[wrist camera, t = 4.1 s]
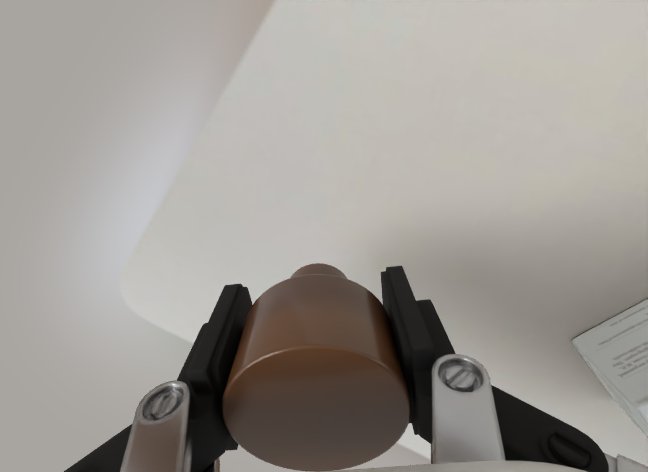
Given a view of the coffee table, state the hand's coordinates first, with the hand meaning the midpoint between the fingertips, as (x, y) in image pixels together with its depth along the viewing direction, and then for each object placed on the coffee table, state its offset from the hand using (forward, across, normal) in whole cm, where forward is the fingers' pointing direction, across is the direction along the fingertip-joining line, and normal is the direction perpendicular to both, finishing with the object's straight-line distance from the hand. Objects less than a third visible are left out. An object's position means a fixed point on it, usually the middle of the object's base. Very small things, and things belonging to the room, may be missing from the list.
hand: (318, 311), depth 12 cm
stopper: (+1, 0, 0) cm, 1 cm away
